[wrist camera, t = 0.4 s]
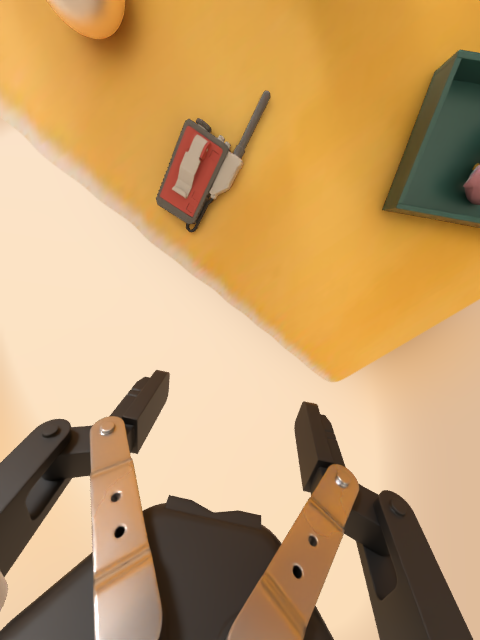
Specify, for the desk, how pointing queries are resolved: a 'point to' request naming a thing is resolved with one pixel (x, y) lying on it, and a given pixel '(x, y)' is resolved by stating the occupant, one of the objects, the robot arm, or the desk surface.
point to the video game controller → (473, 186)
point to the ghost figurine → (91, 16)
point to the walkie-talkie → (202, 168)
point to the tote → (442, 147)
